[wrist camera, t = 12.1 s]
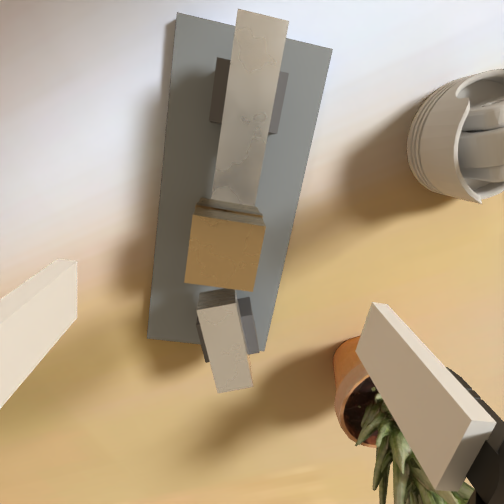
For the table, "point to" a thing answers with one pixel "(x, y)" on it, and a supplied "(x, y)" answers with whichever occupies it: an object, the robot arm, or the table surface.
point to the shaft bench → (203, 169)
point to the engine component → (461, 138)
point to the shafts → (241, 177)
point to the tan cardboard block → (224, 245)
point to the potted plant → (382, 434)
